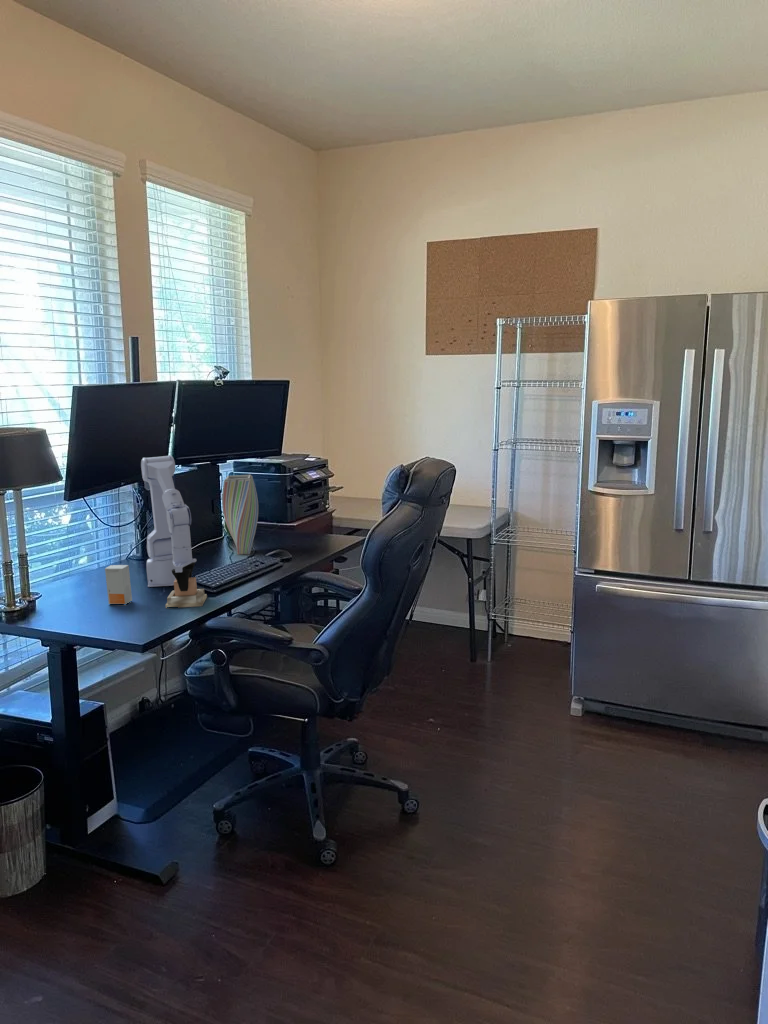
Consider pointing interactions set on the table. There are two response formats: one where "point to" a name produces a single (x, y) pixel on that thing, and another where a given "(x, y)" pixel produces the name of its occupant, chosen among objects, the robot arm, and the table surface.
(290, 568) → the table surface
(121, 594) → the skincare box
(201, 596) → the stand
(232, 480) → the vase
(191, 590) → the keyed block
